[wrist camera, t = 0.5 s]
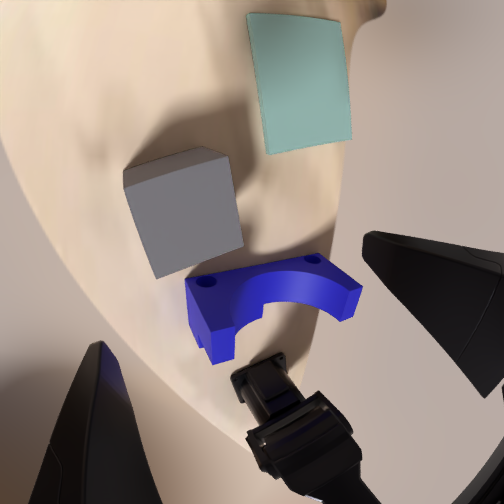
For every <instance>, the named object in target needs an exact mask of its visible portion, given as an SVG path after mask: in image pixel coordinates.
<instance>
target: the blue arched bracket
mask: <svg viewBox="0 0 504 504" xmlns="http://www.w3.org/2000/svg"><path fill="white" fill-rule="evenodd" d="M185 288H186V299H187V310H188V320H189V326H190V328H191V330H192V333H193V335H194V337H195V340H196V342H197V344H198V346H199V348H203V347H204V348H205V350H206V353H207V355H208V357H209V359H210V361H211V363H212V365H215V364H218V363H222V362H225V361H229V360H232V359H234V352H235V335H236V334H237V332H238V331H239V330H240V329H241V328H243V327H244V326H245V325H247V324H248V323H250V322H252V321H254V320H257V319H260V318H262V314H263V305H264V304H266V303H271V302H297V303H303V304H307V305H311V306H314V307H316V308H319V309H321V310H323V311H325V312H327V313H329V314H330V315H332V316H333V317H335V318H336V319H337V320H338V321H339V322H341V321H343V320H346V319H348V318H351V317H353V315H354V312H355V309H356V306H357V304H358V301H359V297H360V294H361V291H362V288H363V286H362V285H360V284H359V283H358V282H356V281H355V280H354V279H352V278H351V277H350V276H349V275H347V274H346V273H345V272H343V271H342V270H341V269H339V268H338V267H337V266H335V265H334V264H333V263H331V262H330V261H329V260H327V259H326V258H325V257H323V256H322V255H321V254H319V253H316V254H311V255H306V256H301V257H296V258H291V259H286V260H281V261H276V262H270V263H265V264H260V265H255V266H250V267H245V268H239V269H234V270H229V271H224V272H218V273H213V274H208V275H202V276H197V277H191V278H186V279H185Z"/></svg>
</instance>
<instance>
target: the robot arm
mask: <svg viewBox="0 0 504 504" xmlns="http://www.w3.org/2000/svg"><path fill="white" fill-rule="evenodd" d="M362 257H363V259H364V261H365V262H366V263H367V264H368V265H369V267H370V268H371V269H372V270H373V271H374V273H375V274H376V275H377V276H378V277H379V279H380V280H381V281H382V282H383V284H384V285H385V286H386V287H387V288H388V289H389V290H390V291H391V293H392V294H393V295H394V296H395V297H397V299H398V300H399V301H400V302H401V303H402V304H403V305H404V306H405V307H406V308H407V309H408V310H409V311H410V312H411V314H412V315H413V316H414V317H415V318H416V319H417V320H418V321H419V322H420V323H421V324H422V325H423V326H424V328H425V329H426V330H427V331H428V332H429V333H430V334H431V335H432V337H433V338H434V339H435V340H436V341H437V342H438V343H439V344H440V346H441V347H442V348H443V349H444V350H445V351H446V353H447V354H448V355H449V356H450V357H451V358H452V360H453V361H454V362H455V363H456V365H457V366H458V367H459V368H460V369H461V371H462V372H463V373H464V374H465V376H466V377H467V378H468V379H469V381H470V382H471V383H472V384H473V386H474V387H475V388H476V389H477V391H478V392H479V393H480V395H481V396H482V397H483V398H486V397H487V396H488V395H489V394H490V392H492V390H493V389H494V388H495V387H496V386H497V385H498V384H499V383H500V381H501V380H502V379H503V378H504V253H500V252H493V251H486V250H481V249H476V248H470V247H465V246H460V245H455V244H449V243H444V242H438V241H433V240H427V239H422V238H416V237H411V236H405V235H398V234H392V233H386V232H380V231H371V232H368V233H366V234H365V235H364V237H363V247H362ZM230 380H231V382H232V385H233V387H234V389H235V392H236V394H237V397H238V399H239V401H240V403H245V402H246V404H247V406H248V407H249V409H250V411H251V412H252V414H253V416H254V418H255V419H256V421H257V423H258V424H259V426H258V427H256V428H254V429H252V430H249V431H247V434H248V436H247V437H246V438H245V439H246V441H247V443H248V444H249V446H250V448H251V450H252V452H253V454H254V457H255V459H256V461H257V464H258V466H259V468H260V470H261V471H262V472H267V473H269V474H270V475H272V477H273V478H274V479H276V480H277V479H279V478H282V479H283V481H284V482H285V484H286V485H287V486H288V488H289V489H290V490H291V491H293V492H295V493H298V494H300V495H302V496H306V497H308V498H311V499H314V500H317V501H320V502H322V503H323V504H381V503H380V501H379V500H378V499H377V498H376V497H375V495H374V494H373V493H372V492H371V491H370V489H369V488H368V487H367V486H366V484H365V483H364V482H363V481H362V479H361V477H360V461H361V460H362V451H361V448H359V446H358V444H357V443H356V442H355V440H354V439H353V438H352V436H351V435H352V434H353V429H352V427H351V425H350V424H349V422H348V421H347V419H346V418H345V417H344V415H343V414H342V413H341V412H340V411H339V410H338V409H337V408H336V407H335V406H334V405H333V404H332V403H331V402H330V401H329V400H328V399H327V398H326V397H325V396H324V395H323V394H322V393H321V392H320V391H317V392H315V393H314V394H313V395H312V396H310V397H309V398H307V399H305V398H304V396H303V395H302V394H301V392H300V391H299V390H298V388H297V387H296V386H295V384H294V383H293V382H292V380H291V379H290V378H289V376H288V375H287V371H286V358H285V355H284V353H279V354H277V355H275V356H273V357H271V358H269V359H267V360H265V361H263V362H260V363H258V364H256V365H254V366H252V367H250V368H248V369H245V370H243V371H241V372H239V373H237V374H234V375H232V376H231V377H230ZM502 393H503V400H504V384H503V386H502ZM264 443H266V445H264ZM28 504H163V503H162V501H161V498H160V496H159V493H158V490H157V488H156V485H155V483H154V480H153V477H152V474H151V471H150V468H149V465H148V462H147V458H146V455H145V452H144V449H143V445H142V442H141V438H140V434H139V431H138V427H137V423H136V419H135V415H134V411H133V407H132V404H131V401H130V398H129V395H128V392H127V389H126V386H125V383H124V379H123V376H122V373H121V369H120V366H119V363H118V360H117V359H116V357H115V356H114V354H113V353H112V352H111V350H110V349H109V347H108V346H107V345H106V344H105V342H104V341H98V342H95V343H92V344H90V346H89V347H88V349H87V352H86V354H85V356H84V358H83V360H82V362H81V365H80V366H79V368H78V371H77V373H76V375H75V377H74V380H73V382H72V384H71V387H70V389H69V391H68V394H67V396H66V399H65V401H64V403H63V406H62V408H61V411H60V413H59V416H58V419H57V422H56V424H55V427H54V430H53V433H52V435H51V438H50V444H48V447H47V450H46V453H45V456H44V459H43V462H42V465H41V468H40V472H39V474H38V477H37V480H36V483H35V485H34V488H33V491H32V494H31V497H30V500H29V503H28ZM452 504H504V437H503V439H502V440H501V442H500V444H499V445H498V447H497V448H496V449H495V451H494V452H493V454H492V455H491V457H490V458H489V459H488V461H487V462H486V463H485V465H484V466H483V468H482V469H481V470H480V471H479V473H478V474H477V475H476V477H475V478H474V479H473V480H472V481H471V483H470V484H469V485H468V486H467V487H466V489H465V490H464V491H463V492H462V493H461V494H460V495H459V496H458V498H457V499H456V500H455V501H454V502H453V503H452Z"/></svg>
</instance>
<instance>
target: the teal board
mask: <svg viewBox="0 0 504 504" xmlns="http://www.w3.org/2000/svg"><path fill="white" fill-rule="evenodd" d="M246 19H247V25H248V31H249V37H250V43H251V49H252V56H253V62H254V69H255V75H256V82H257V89H258V96H259V103H260V110H261V118H262V125H263V133H264V140H265V148H266V154H268V155H273V154H277V153H282V152H286V151H291V150H296V149H301V148H306V147H311V146H316V145H322V144H328V143H333V142H339V141H346V140H351V139H352V131H351V112H350V98H349V86H348V76H347V67H346V58H345V51H344V43H343V37H342V30H341V24H340V22H336V21H330V20H324V19H318V18H311V17H303V16H294V15H283V14H266V13H249V14H247V15H246Z"/></svg>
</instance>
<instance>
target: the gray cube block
mask: <svg viewBox="0 0 504 504" xmlns="http://www.w3.org/2000/svg"><path fill="white" fill-rule="evenodd" d="M123 189H124V192H125V195H126V198H127V201H128V204H129V207H130V210H131V213H132V216H133V219H134V222H135V225H136V228H137V231H138V233H139V236H140V239H141V242H142V244H143V247H144V250H145V252H146V255H147V257H148V260H149V263H150V265H151V268H152V270H153V272H154V275H155V277H156V279H159V278H161V277H164V276H167V275H169V274H172V273H175V272H177V271H180V270H182V269H185V268H188V267H190V266H193V265H196V264H198V263H201V262H204V261H206V260H209V259H212V258H214V257H217V256H220V255H222V254H225V253H228V252H230V251H233V250H236V249H238V248H241V247H244V243H243V238H242V232H241V226H240V221H239V215H238V209H237V204H236V198H235V192H234V186H233V181H232V175H231V169H230V163H229V157H228V156H226V155H224V154H221V153H219V152H216V151H213V150H211V149H208V148H205V147H203V146H202V147H198V148H194V149H191V150H187V151H183V152H180V153H176V154H173V155H170V156H166V157H163V158H160V159H157V160H153V161H150V162H147V163H144V164H141V165H138V166H135V167H132V168H130V169H127V170H124V171H123Z"/></svg>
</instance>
